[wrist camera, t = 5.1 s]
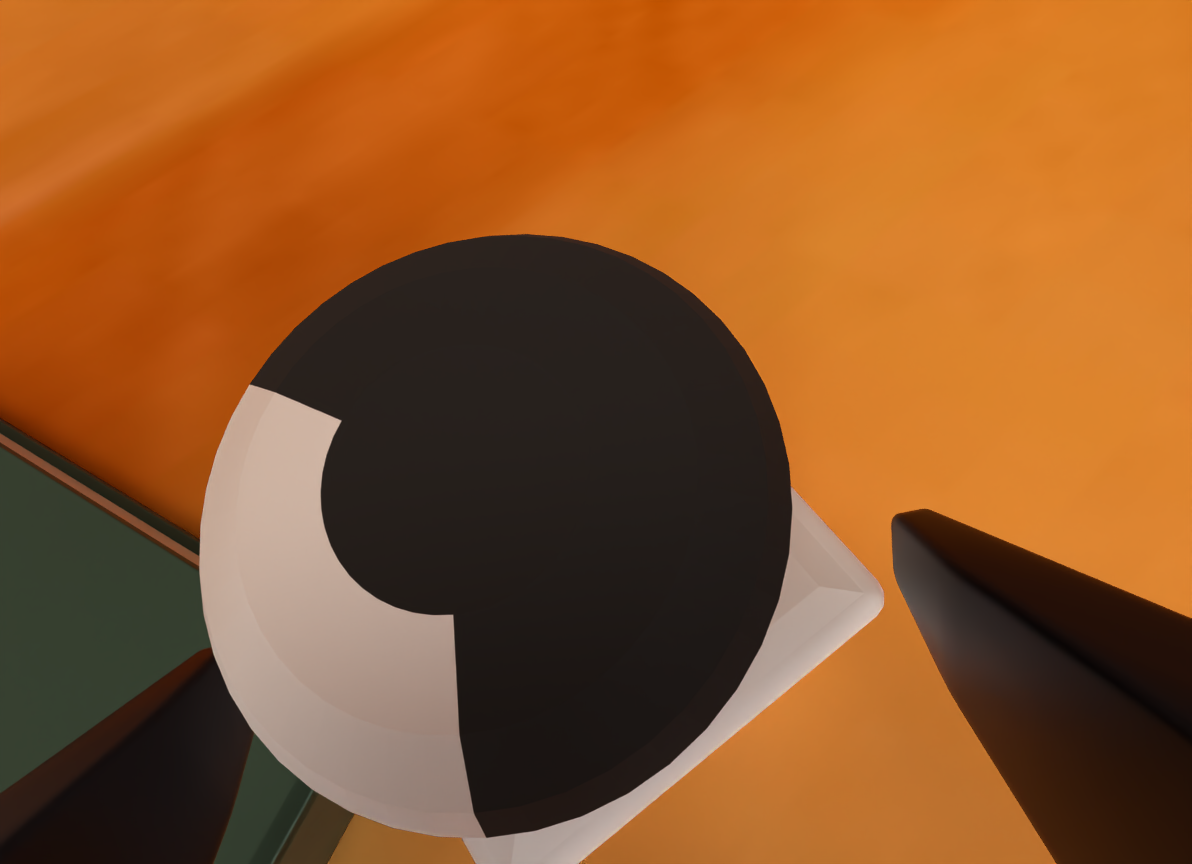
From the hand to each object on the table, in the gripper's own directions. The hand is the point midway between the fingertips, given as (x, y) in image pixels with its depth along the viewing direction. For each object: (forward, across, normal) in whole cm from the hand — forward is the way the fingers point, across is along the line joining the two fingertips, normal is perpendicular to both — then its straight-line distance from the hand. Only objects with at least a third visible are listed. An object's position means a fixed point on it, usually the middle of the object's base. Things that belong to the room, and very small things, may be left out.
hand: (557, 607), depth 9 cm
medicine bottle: (+7, 0, +6) cm, 9 cm away
